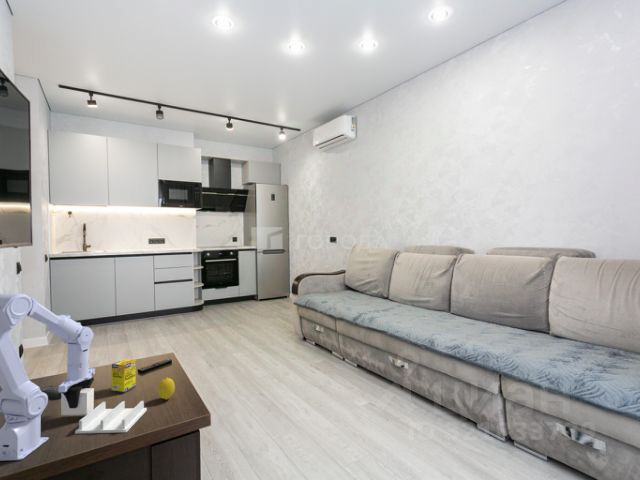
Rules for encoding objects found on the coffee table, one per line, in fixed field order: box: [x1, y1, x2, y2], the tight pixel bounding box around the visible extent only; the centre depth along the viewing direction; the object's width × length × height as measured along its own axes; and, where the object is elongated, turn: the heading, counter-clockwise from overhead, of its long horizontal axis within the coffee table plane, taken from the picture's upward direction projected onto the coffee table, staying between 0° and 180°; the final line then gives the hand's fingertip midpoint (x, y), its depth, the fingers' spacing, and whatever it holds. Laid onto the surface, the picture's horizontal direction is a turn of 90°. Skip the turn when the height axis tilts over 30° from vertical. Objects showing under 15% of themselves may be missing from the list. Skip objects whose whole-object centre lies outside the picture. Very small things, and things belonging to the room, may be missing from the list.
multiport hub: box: [40, 385, 62, 400], centre depth 123 cm, size 4×11×2 cm, turn 73°
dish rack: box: [74, 400, 148, 435], centre depth 105 cm, size 13×15×4 cm
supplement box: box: [110, 358, 137, 394], centre depth 128 cm, size 6×6×11 cm
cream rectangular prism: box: [60, 387, 95, 416], centre depth 108 cm, size 4×8×7 cm, turn 93°
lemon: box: [157, 377, 176, 401], centre depth 120 cm, size 6×6×8 cm
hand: (77, 404), depth 108 cm, fingers closed on cream rectangular prism, 3 cm apart
